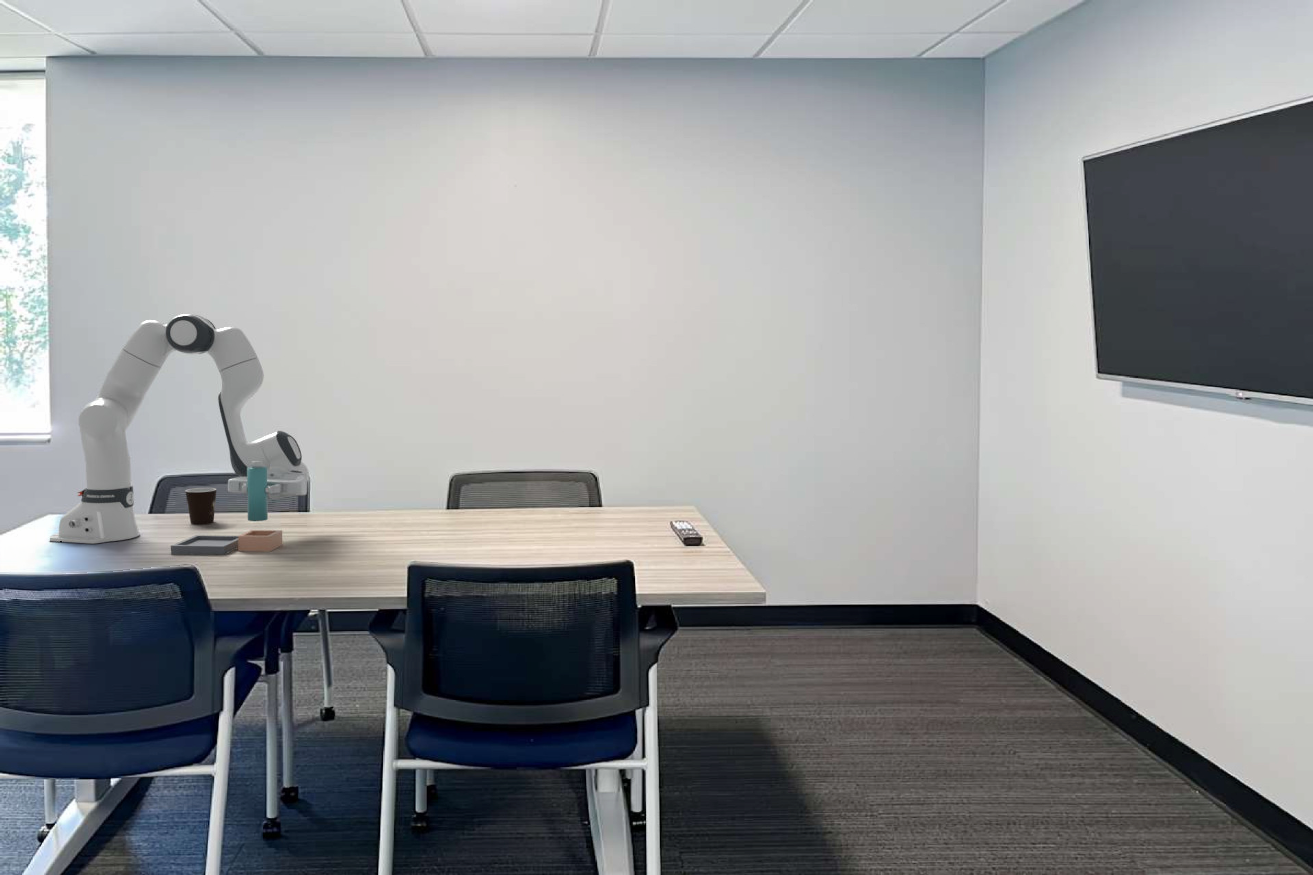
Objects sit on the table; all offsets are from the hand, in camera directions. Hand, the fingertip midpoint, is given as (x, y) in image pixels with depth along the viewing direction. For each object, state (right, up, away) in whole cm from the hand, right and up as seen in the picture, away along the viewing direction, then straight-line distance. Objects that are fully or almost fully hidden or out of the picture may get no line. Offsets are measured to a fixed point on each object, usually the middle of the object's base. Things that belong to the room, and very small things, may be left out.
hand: (256, 489), depth 281 cm
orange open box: (0, -16, +3) cm, 16 cm away
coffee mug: (-30, -12, +40) cm, 51 cm away
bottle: (0, -8, +2) cm, 8 cm away
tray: (-13, -16, +1) cm, 20 cm away
